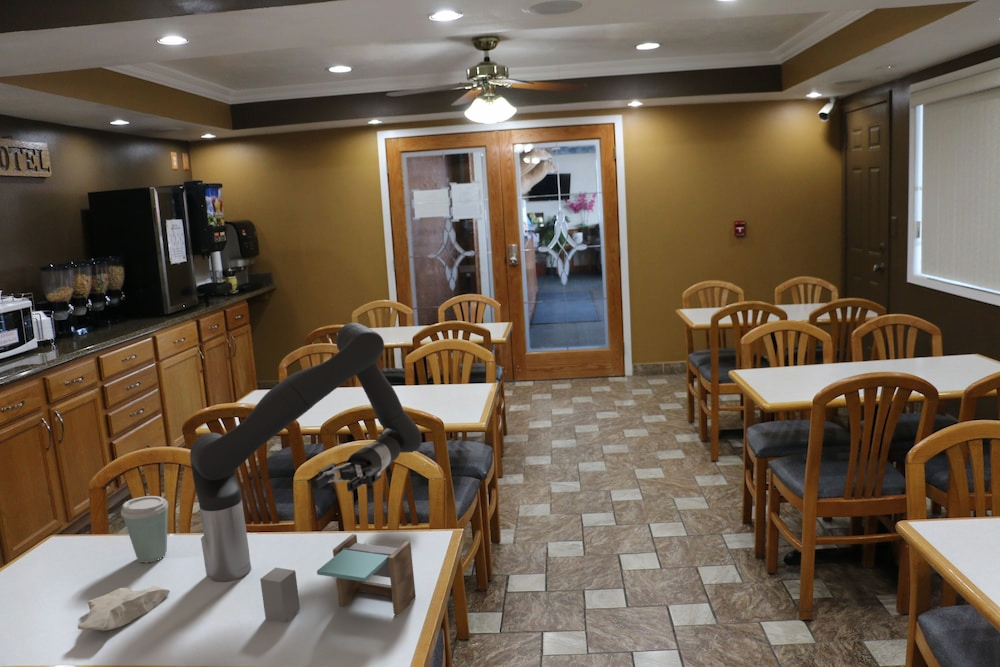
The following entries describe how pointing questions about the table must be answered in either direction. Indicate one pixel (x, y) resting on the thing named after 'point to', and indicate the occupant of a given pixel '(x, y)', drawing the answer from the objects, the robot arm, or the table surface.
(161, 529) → the disposable coffee cup
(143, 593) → the rock
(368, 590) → the flap stand
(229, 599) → the table surface
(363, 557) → the trapdoor flap
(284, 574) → the granite pillar
